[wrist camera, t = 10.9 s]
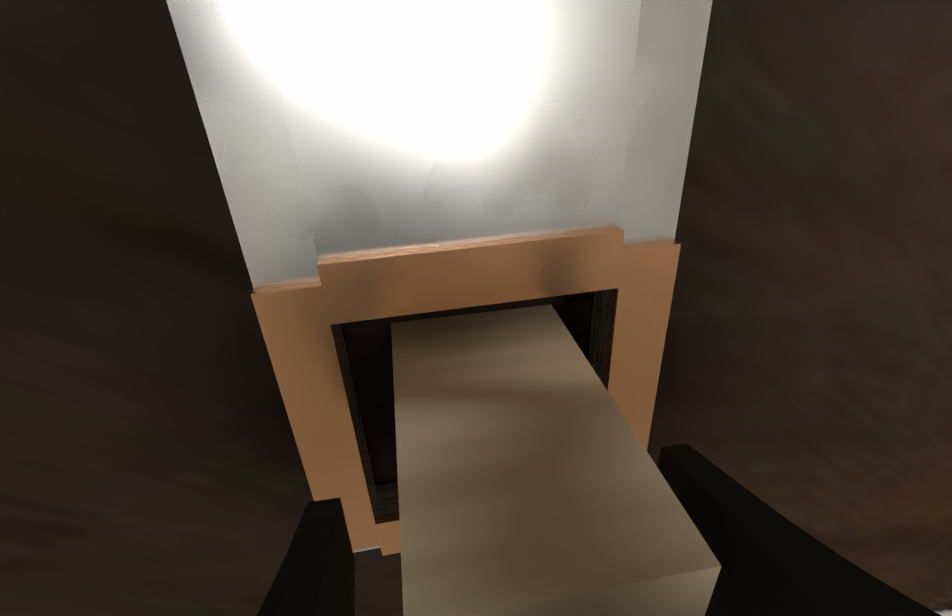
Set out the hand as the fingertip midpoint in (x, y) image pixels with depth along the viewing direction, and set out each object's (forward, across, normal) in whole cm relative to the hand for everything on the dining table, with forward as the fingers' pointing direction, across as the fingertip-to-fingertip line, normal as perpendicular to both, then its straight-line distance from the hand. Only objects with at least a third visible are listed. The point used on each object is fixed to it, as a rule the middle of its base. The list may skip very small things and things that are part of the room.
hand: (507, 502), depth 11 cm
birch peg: (+4, 0, 0) cm, 4 cm away
